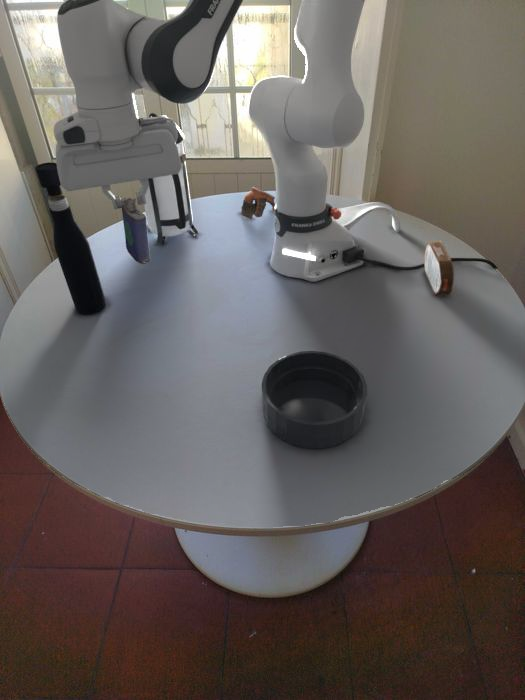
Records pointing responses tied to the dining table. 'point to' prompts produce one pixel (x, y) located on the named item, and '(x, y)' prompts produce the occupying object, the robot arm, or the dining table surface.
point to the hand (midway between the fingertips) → (129, 205)
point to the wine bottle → (72, 246)
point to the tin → (438, 268)
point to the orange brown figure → (256, 203)
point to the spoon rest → (359, 211)
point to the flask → (135, 231)
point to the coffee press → (170, 201)
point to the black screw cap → (313, 399)
